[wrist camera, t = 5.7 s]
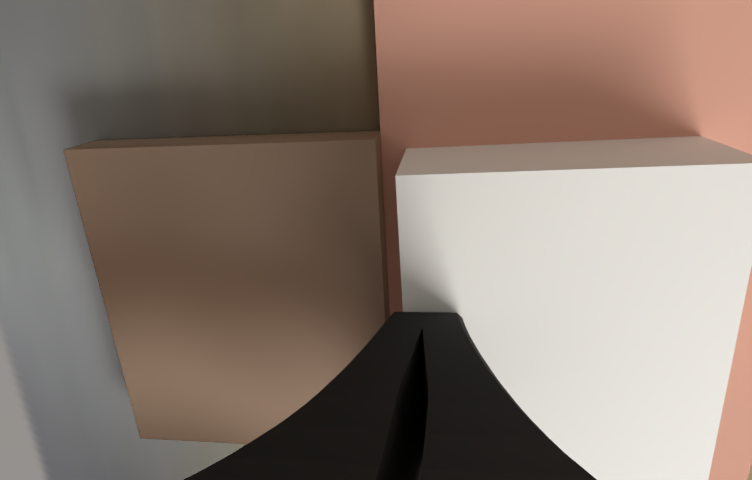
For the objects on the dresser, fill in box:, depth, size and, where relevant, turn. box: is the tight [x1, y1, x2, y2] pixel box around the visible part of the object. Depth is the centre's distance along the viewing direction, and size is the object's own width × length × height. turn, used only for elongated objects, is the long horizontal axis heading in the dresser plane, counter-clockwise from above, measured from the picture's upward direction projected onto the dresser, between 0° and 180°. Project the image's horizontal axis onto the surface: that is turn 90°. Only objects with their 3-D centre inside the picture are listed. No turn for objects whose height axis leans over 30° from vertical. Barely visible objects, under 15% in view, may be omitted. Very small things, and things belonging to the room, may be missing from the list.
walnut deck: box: [63, 130, 390, 444], centre depth 13 cm, size 8×7×1 cm
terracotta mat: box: [374, 0, 752, 480], centre depth 12 cm, size 14×9×1 cm, turn 3°
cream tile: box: [395, 136, 752, 480], centre depth 11 cm, size 7×6×2 cm
